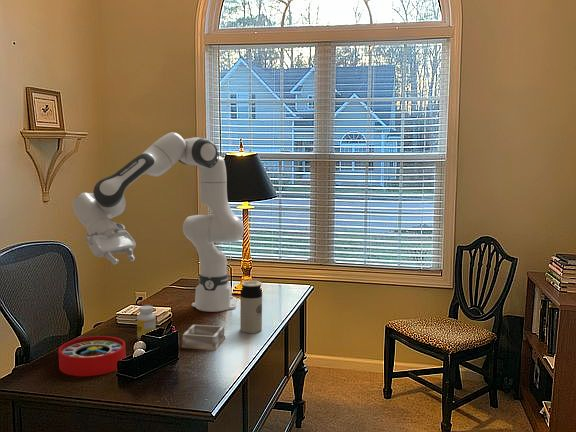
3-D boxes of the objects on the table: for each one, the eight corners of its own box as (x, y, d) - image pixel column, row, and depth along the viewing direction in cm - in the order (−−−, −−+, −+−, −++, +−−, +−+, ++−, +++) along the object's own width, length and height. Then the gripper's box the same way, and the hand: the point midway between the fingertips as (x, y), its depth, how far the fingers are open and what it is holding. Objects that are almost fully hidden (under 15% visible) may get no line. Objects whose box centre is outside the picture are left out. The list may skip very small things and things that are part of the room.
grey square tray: (192, 336, 215) (192, 324, 215) (225, 338, 213) (225, 326, 213) (181, 347, 204) (181, 334, 203) (215, 350, 202) (215, 337, 201)
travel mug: (235, 330, 223) (236, 282, 221) (251, 325, 229) (251, 279, 226) (250, 335, 218) (251, 286, 215) (266, 330, 223) (266, 283, 221)
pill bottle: (138, 336, 215) (138, 304, 213) (157, 335, 215) (156, 304, 214) (135, 342, 208) (135, 309, 207) (154, 342, 209) (154, 309, 207)
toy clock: (94, 332, 201) (139, 342, 192) (94, 349, 202) (139, 360, 192) (44, 350, 184) (90, 362, 174) (44, 368, 185) (91, 382, 175)
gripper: (88, 228, 204) (111, 260, 201) (126, 224, 223) (147, 252, 220) (78, 240, 206) (100, 271, 204) (116, 235, 225) (136, 263, 222)
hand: (125, 261), depth 212 cm, fingers open, 8 cm apart
